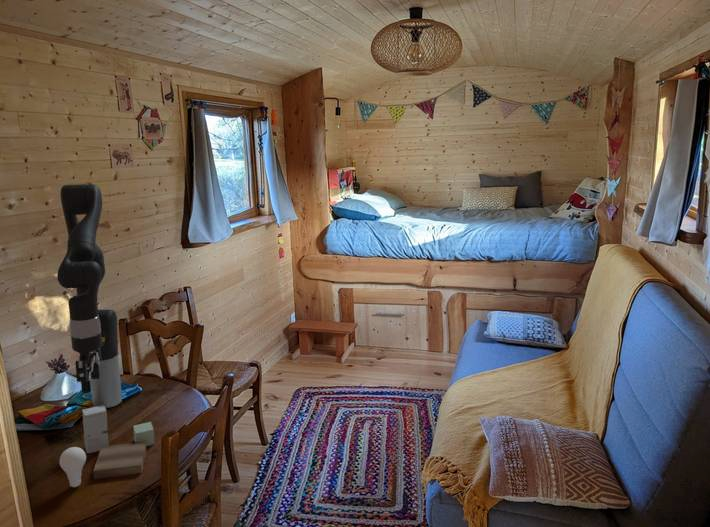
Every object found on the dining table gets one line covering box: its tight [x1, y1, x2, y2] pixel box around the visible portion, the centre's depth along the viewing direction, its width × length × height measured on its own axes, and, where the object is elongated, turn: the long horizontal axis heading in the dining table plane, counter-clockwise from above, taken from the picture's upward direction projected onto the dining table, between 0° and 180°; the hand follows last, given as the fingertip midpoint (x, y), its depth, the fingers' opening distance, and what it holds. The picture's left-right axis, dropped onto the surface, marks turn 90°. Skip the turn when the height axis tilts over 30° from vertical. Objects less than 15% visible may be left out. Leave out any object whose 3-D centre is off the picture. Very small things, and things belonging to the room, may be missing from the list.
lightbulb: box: [59, 446, 87, 488], centre depth 139 cm, size 6×6×11 cm
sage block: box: [132, 421, 155, 447], centre depth 161 cm, size 5×5×5 cm
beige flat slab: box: [92, 442, 148, 480], centre depth 151 cm, size 12×12×3 cm
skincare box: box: [81, 405, 109, 454], centre depth 157 cm, size 6×4×12 cm
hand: (91, 385), depth 152 cm, fingers open, 8 cm apart
